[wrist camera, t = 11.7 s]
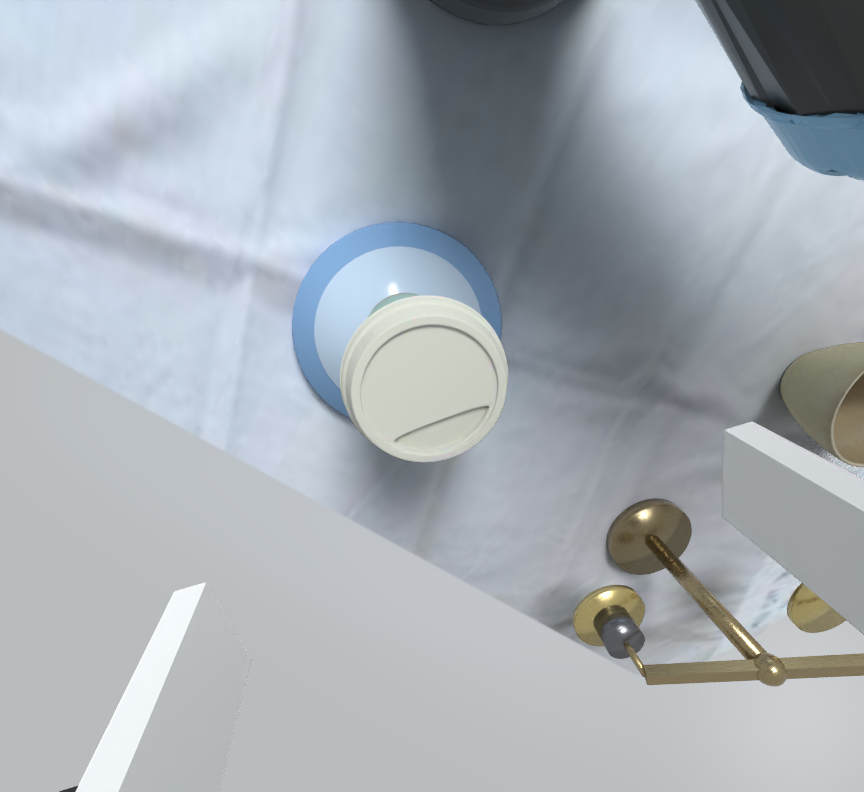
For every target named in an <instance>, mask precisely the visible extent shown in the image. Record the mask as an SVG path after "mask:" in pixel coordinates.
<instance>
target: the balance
mask: <svg viewBox="0 0 864 792" xmlns="http://www.w3.org/2000/svg"><path fill="white" fill-rule="evenodd" d="M691 530H692V529H691V523H690V520H689V518H688V517H687V515H686V514H685V513H684V512H683V511H682V510H680V509H679V508H678V507H677V506H676V505H675V504H673V503H672V502H670V501H667V500H664V499H648V500H644V501H641V502H638V503H636V504H634V505H632V506H631V507H629V508H627V509H626V510H625V511H623V512H622V513H621V514H620V515H619V516H618V517H617V518H616V520H615V521H614V522H613V524H612V526H611V527H610V530H609V532H608V536H607V549H608V552H609V554H610V555H611V557H612V558H613V559H614V561H615V562H616V564H617V565H618V566H619V567H620V568H621V569H622V570H624V571H626V572H628V573H631V574H637V575H644V574H650V573H654V572H657V571H660V570H662V569H664V568H666V569H667V570H668V571H669V572H670V573H671V574H672V575H673V577H674V578H675V579H676V580H677V581H678V582H679V583H680V585H681V586H682V587H683V588H684V589H685V590H686V591H687V592H688V594H689V595H690V596H691V597H692V598H693V599H694V600H695V602H696V603H697V604H698V605H699V606H700V607H701V608H702V610H703V611H704V612H705V613H706V614H707V615H708V616H709V618H710V619H711V620H712V621H713V622H714V623H715V624H716V625H717V627H718V628H719V629H720V630H721V631H722V632H723V633H724V635H725V636H726V637H727V638H728V639H729V640H730V641H731V643H732V644H733V645H734V646H735V647H736V648H737V649H738V650H739V652H741V654H742V655H743V656H744V657H745V658H746V660H732V661H713V662H694V663H675V664H656V665H643V664H642V662H641V660H640V659H639V657H638V656H637V654H636V653H637V652H638V651H639V650H640V649H641V648H642V646H643V645H644V641H645V637H644V635H643V633H642V632H641V630H640V629H639V627H638V626H639V625H640V624H641V622H642V620H643V617H644V613H645V606H644V603H643V601H642V599H641V598H640V596H639V595H638V594H637V593H636V591H634V590H633V589H632V588H630V587H627V586H623V585H610V586H606V587H602V588H600V589H597V590H595V591H593V592H592V593H590V594H589V595H587V596H586V597H585V598H584V599H583V600H582V601H581V602H580V603H579V605H578V606H577V608H576V609H575V612H574V615H573V627H574V629H575V631H576V633H577V635H578V637H579V638H580V639H581V640H582V641H583V642H585V643H587V644H589V645H593V646H605V647H606V649H607V651H608V652H609V654H610V655H611V656H612V657H614V658H618V659H623V658H627V657H631V659H632V660H633V662H634V664H635V665H636V667H637V668H638V670H639V672H640V673H641V675H642V676H643V677H645V679H646V682H647V685H658V684H681V683H704V682H727V681H749V680H760V681H761V682H762V683H764V684H766V685H769V686H780V685H782V684H783V683H784V682H785V681H786V679H794V678H817V677H839V676H862V675H864V654H847V655H827V656H808V657H790V658H777V657H776V656H774V655H772V654H770V653H767V652H766V651H765V650H764V649H763V648H762V647H761V645H760V644H759V643H758V642H757V641H756V640H755V639H754V638H753V637H752V636H751V635H750V634H749V633H748V632H747V631H746V630H745V628H744V627H743V626H742V625H741V624H740V623H739V622H738V621H737V620H736V619H735V618H734V617H733V616H732V615H731V614H730V613H729V611H728V610H727V609H726V608H725V607H724V606H723V605H722V604H721V603H720V602H719V601H718V600H717V599H716V598H715V597H714V596H713V594H712V593H711V592H710V591H709V590H708V589H707V588H706V587H705V586H704V585H703V584H702V583H701V582H700V581H699V580H698V579H697V577H696V576H695V575H694V574H693V573H692V572H691V571H690V570H689V569H688V568H687V567H686V566H685V565H684V564H683V563H682V562H681V560H680V559H679V557H680V555H681V554H682V553H683V552H684V550H685V549H686V547H687V545H688V543H689V541H690V537H691ZM787 614H788V617H789V619H790V620H791V621H792V622H793V623H794V624H795V625H796V626H797V627H798V628H799V629H800V630H802V631H805V632H809V633H817V632H822V631H826V630H829V629H832V628H834V627H836V626H838V625H840V624H841V623H843V622H844V621H846V619H845V618H844V617H843V616H841V615H840V614H839V613H838V612H836V611H835V610H834V609H833V608H832V607H830V606H829V605H828V604H827V603H826V602H824V601H823V600H822V599H821V598H820V597H818V596H817V595H816V594H815V593H814V592H812V591H811V590H810V589H809V588H808V587H806V586H805V585H804V584H803V583H801V584H800V585H799V587H798V588H797V589H796V590H795V591H794V593H793V594H792V596H791V598H790V600H789V603H788V607H787ZM848 622H849V621H848ZM849 623H850V622H849ZM850 624H851V623H850ZM854 627H855V626H854ZM855 628H856V627H855ZM860 632H861V631H860ZM861 633H862V632H861Z"/></svg>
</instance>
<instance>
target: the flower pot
mask: <svg viewBox="0 0 864 792" xmlns="http://www.w3.org/2000/svg"><path fill="white" fill-rule="evenodd" d="M780 393H781V396H782V398H783V401H784V403H785V405H786V407H787V408H788V410H789V412H790V413H791V415H792V416H793V418H794V419H795V420H796V422H797V423H798V424H799V425H800V426H801V428H802V429H803V430H804V431H805V432H806V433H807V434H808V435H809V436H810V437H811V438H812V439H813V440H814V441H815V442H816V443H818V444H819V445H820V446H821V447H823V448H824V449H825V450H826V451H828V452H829V453H830V454H832V455H833V456H835V457H837V458H838V459H840V460H841V461H843V462H845V463H846V464H849V465H852V466H856V467H864V342H859V343H850V344H842V345H837V346H831V347H827V348H823V349H819V350H816V351H812V352H809V353H806V354H804V355H802V356H800V357H799V358H797V359H796V360H795V361H794V362H793V363H792V364H791V365H790V366H789V367H788V369H787V370H786V371H785V373H784V375H783V378H782V380H781V385H780Z"/></svg>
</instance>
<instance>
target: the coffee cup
mask: <svg viewBox="0 0 864 792" xmlns="http://www.w3.org/2000/svg"><path fill="white" fill-rule="evenodd" d="M507 386H508V365H507V360H506V356H505V352H504V349H503V347H502V344H501V342H500V340H499V338H498V336H497V334H496V332H495V331H494V329H493V328H492V326H491V325H490V324H489V323H488V322H487V320H486V319H485V318H484V317H483V316H481V315H480V314H479V313H478V312H477V311H475V310H474V309H472V308H471V307H469V306H467V305H465V304H463V303H461V302H459V301H456V300H453V299H450V298H446V297H441V296H432V295H418V294H414V293H398V294H394V295H391V296H389V297H387V298H385V299H383V300H382V301H380V302H379V303H378V304H377V305H376V306H375V307H374V308H373V310H372V311H371V313H370V314H369V316H368V318H367V319H366V320H365V321H364V322H363V323H362V324H361V325H360V326H359V328H358V329H357V330H356V331H355V333H354V334H353V336H352V337H351V339H350V341H349V343H348V345H347V347H346V349H345V352H344V355H343V358H342V362H341V368H340V389H341V395H342V399H343V402H344V405H345V407H346V410H347V412H348V414H349V416H350V418H351V420H352V422H353V423H354V425H355V426H356V428H357V429H358V430H359V431H360V432H361V434H362V435H363V436H364V437H365V438H367V439H368V440H369V441H370V442H371V443H373V444H374V445H376V446H377V447H378V448H380V449H381V450H383V451H384V452H386V453H388V454H390V455H392V456H394V457H397V458H400V459H402V460H407V461H412V462H425V463H427V462H437V461H443V460H446V459H450V458H453V457H456V456H458V455H460V454H462V453H464V452H466V451H468V450H469V449H471V448H472V447H474V446H475V445H476V444H478V443H479V442H480V441H481V440H482V439H483V438H484V437H485V436H486V435H487V434H488V433H489V432H490V431H491V429H492V428H493V426H494V425H495V424H496V422H497V420H498V418H499V416H500V414H501V412H502V409H503V406H504V403H505V398H506V391H507Z"/></svg>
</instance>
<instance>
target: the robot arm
mask: <svg viewBox="0 0 864 792" xmlns="http://www.w3.org/2000/svg"><path fill="white" fill-rule="evenodd" d="M431 1H432V2H434V3H435V4H437V5H438V6H439V7H441V8H443V9H444V10H446V11H448V12H450V13H452V14H454V15H456V16H458V17H461V18H463V19H466V20H469V21H473V22H477V23H483V24H492V25H503V24H512V23H517V22H522V21H525V20H528V19H531V18H534V17H536V16H538V15H540V14H542V13H544V12H546V11H548V10H550V9H551V8H553V7H554V6H556V5H557V4H559V3H560V2H561V1H563V0H431ZM696 2H697V4H698V6H699V7H700V9H701V11H702V13H703V14H704V16H705V18H706V19H707V21H708V23H709V25H710V26H711V28H712V30H713V32H714V33H715V35H716V37H717V38H718V40H719V42H720V44H721V45H722V47H723V49H724V51H725V52H726V54H727V56H728V58H729V59H730V61H731V63H732V64H733V66H734V68H735V70H736V71H737V73H738V75H739V77H740V78H741V80H742V84H741V86H740V88H741V91H742V94H743V96H744V98H745V100H746V101H747V103H748V104H749V105H750V106H751V108H753V109H754V110H755V111H756V112H757V113H759V114H761V115H762V116H764V118H765V119H766V121H767V122H768V124H769V125H770V126H771V128H772V129H773V131H774V132H775V134H776V135H777V136H778V138H779V139H780V141H781V142H782V144H783V145H784V146H785V148H786V149H787V151H788V152H789V154H790V155H791V156H792V157H793V158H794V159H795V160H797V161H798V162H799V163H801V164H802V165H803V166H805V167H807V168H809V169H811V170H813V171H815V172H818V173H821V174H825V175H833V176H846V175H847V176H849V177H853V178H855V179H857V180H864V0H696ZM722 517H723V518H724V519H725V520H727V521H728V522H729V523H730V524H731V525H733V526H734V527H735V528H736V529H737V530H739V531H740V532H741V533H742V534H743V535H745V536H746V537H747V538H748V539H750V540H751V541H752V542H753V543H754V544H756V545H757V546H758V547H759V548H760V549H762V550H763V551H764V552H765V553H766V554H768V555H769V556H770V557H771V558H772V559H774V560H775V561H776V562H777V563H779V564H780V565H781V566H782V567H783V568H785V569H786V570H787V571H788V572H789V573H791V574H792V575H793V576H794V577H795V578H797V579H798V580H799V581H800V582H801V583H803V584H804V585H805V586H806V587H808V588H809V589H810V590H811V591H812V592H814V593H815V594H816V595H817V596H818V597H820V598H821V599H822V600H823V601H824V602H826V603H827V604H828V605H829V606H830V607H832V608H833V609H834V610H835V611H836V612H838V613H839V614H840V615H841V616H843V617H844V618H845V619H846V620H847V621H849V622H850V623H851V624H852V625H853V626H855V627H856V628H857V629H858V630H859V631H861V632H862V633H863V634H864V479H862V478H860V477H858V476H856V475H854V474H852V473H850V472H849V471H847V470H845V469H843V468H841V467H839V466H837V465H835V464H833V463H831V462H829V461H827V460H826V459H824V458H822V457H820V456H818V455H816V454H814V453H812V452H810V451H808V450H806V449H804V448H803V447H801V446H799V445H797V444H795V443H793V442H791V441H789V440H787V439H785V438H783V437H781V436H779V435H778V434H776V433H774V432H772V431H770V430H768V429H766V428H764V427H762V426H760V425H758V424H756V423H755V422H753V421H752V422H749V423H745V424H742V425H738V426H735V427H732V428H728V429H725V430H724V449H723V492H722ZM251 660H252V659H251V658H250V656H249V654H248V652H247V651H246V649H245V647H244V646H243V644H242V642H241V640H240V639H239V637H238V635H237V634H236V632H235V630H234V628H233V627H232V625H231V623H230V622H229V620H228V618H227V616H226V615H225V613H224V612H223V610H222V608H221V606H220V605H219V603H218V601H217V599H216V598H215V596H214V594H213V593H212V591H211V589H210V587H209V586H208V584H207V582H205V583H202V584H198V585H195V586H192V587H188V588H185V589H181V590H178V591H174V593H173V595H172V597H171V600H170V601H169V603H168V606H167V608H166V610H165V612H164V614H163V616H162V618H161V620H160V622H159V624H158V626H157V628H156V630H155V632H154V634H153V636H152V638H151V640H150V642H149V644H148V646H147V648H146V650H145V652H144V654H143V656H142V658H141V660H140V662H139V664H138V666H137V668H136V670H135V672H134V674H133V676H132V678H131V680H130V682H129V685H128V686H127V689H126V690H125V693H124V695H123V697H122V699H121V701H120V703H119V705H118V707H117V709H116V711H115V713H114V715H113V717H112V719H111V721H110V723H109V725H108V727H107V729H106V731H105V733H104V735H103V737H102V739H101V741H100V743H99V745H98V747H97V749H96V751H95V753H94V755H93V757H92V759H91V761H90V763H89V765H88V768H87V769H86V772H85V773H84V776H83V778H82V780H81V782H80V784H79V786H76V787H73V788H69V789H66V790H63V791H60V792H219V791H220V787H221V783H222V779H223V775H224V771H225V767H226V763H227V759H228V755H229V750H230V746H231V742H232V738H233V734H234V730H235V725H236V722H237V717H238V713H239V709H240V705H241V701H242V697H243V693H244V689H245V685H246V681H247V677H248V672H249V668H250V664H251Z"/></svg>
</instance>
